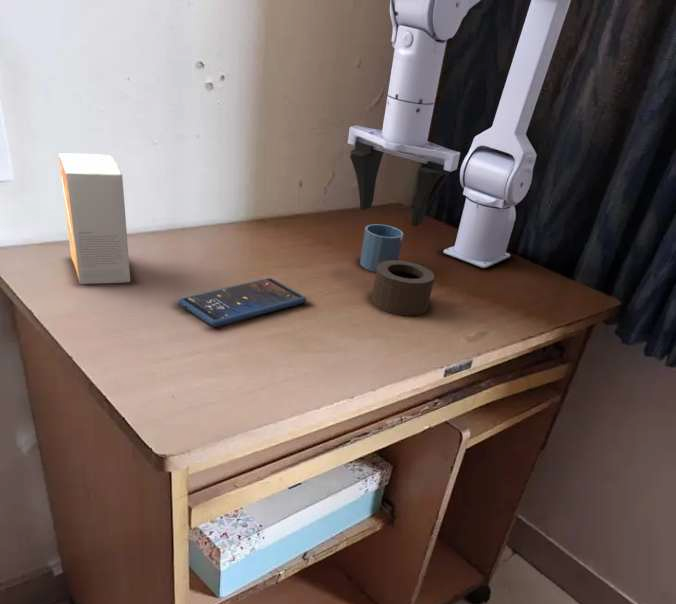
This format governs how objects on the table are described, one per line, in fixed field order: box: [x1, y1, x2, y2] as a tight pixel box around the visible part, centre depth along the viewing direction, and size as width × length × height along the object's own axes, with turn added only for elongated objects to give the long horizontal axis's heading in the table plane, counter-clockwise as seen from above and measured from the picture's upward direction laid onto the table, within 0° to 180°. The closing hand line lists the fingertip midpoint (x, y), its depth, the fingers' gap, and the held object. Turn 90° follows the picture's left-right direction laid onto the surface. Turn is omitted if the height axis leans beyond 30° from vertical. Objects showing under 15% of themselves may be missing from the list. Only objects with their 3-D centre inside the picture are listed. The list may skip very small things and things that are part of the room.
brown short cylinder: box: [371, 259, 435, 317], centre depth 90 cm, size 8×8×4 cm
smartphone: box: [177, 277, 307, 328], centre depth 84 cm, size 8×1×15 cm
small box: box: [58, 153, 131, 285], centre depth 82 cm, size 8×6×13 cm
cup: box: [359, 223, 404, 273], centre depth 99 cm, size 6×6×5 cm
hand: (390, 216), depth 88 cm, fingers open, 7 cm apart
